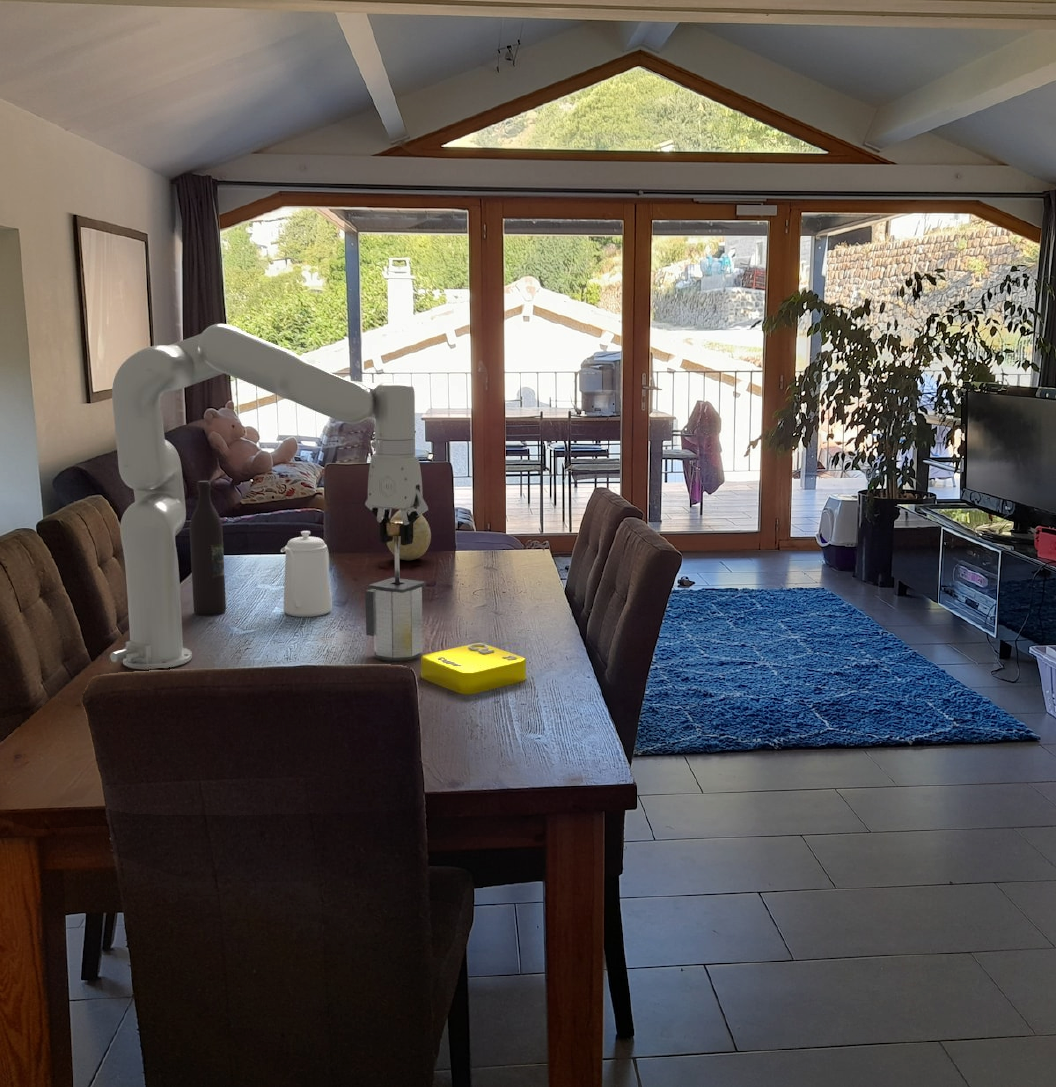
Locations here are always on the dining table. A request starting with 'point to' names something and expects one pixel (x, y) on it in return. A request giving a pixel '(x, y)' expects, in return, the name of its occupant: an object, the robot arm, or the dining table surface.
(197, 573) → the wine bottle
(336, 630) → the dining table surface
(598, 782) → the dining table surface
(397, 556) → the plunger
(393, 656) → the grey faceted container
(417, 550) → the fossilized egg
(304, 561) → the coffeepot
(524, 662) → the element tile
